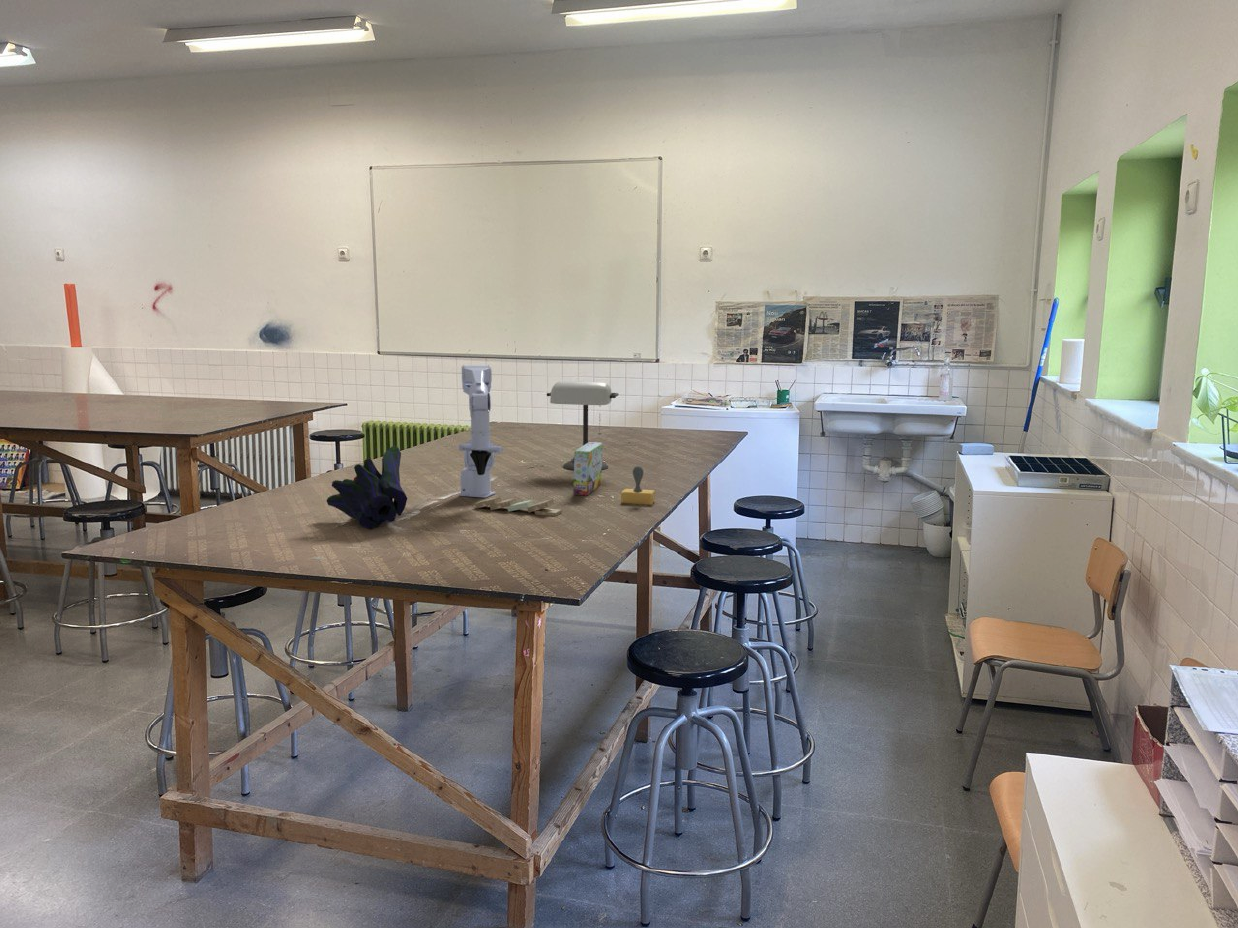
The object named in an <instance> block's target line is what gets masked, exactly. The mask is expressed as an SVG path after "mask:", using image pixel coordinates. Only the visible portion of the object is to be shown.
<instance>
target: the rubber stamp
mask: <svg viewBox="0 0 1238 928" xmlns="http://www.w3.org/2000/svg"><path fill="white" fill-rule="evenodd" d="M632 475H633V479H634V481H635V488H624V489H623V490H622V491H621V496H620V498H621V501H620V503H621V504H629V503H631V504H632V505H634V504H635V505H648V506H653V504H654V502H655V490H654V489H642V488H641V486H640V485H641V482H642V479H643V478H644V477H643V476H644V468H643V467H642V466H641V465H636V466H634V467H633V469H632Z"/></svg>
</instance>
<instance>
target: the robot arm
mask: <svg viewBox="0 0 1238 928" xmlns="http://www.w3.org/2000/svg"><path fill="white" fill-rule="evenodd" d="M492 378H493V377H492V366H491V365H490V364H488V365H465V364H463V365H462V366H461V385H462V387H461V388H462V390H463V391H462V392H463V393H464V394H466V395H468V404H469V405H468V407H469V413H470V415H469V416H470V437H471V438H470V440H468V441H467V442H466V443H461V444H458V451H459V452H460V451H461V452H462V451H463V464H464V465H463V466H464V467H463V469H462V470H461V472H460V478H459V479H460V494H459V496H461V497H471V498H483V499H484V498H488V497H491V496H492V495H495V494H496V493H497V492H496V491H492V490H491V488H492V487H491V484H492V483H491V481H492V480H491V479H492V478H491V469H492V468H494V467H495V454H498V455H500V454H503V453H504V447H503V446H501V445H498V446H497V445H493V442H491V441H490V439H491V437H490V436H491V434H490V433H491V430H490V429H491V428H490V427H491V426H490V412H491V409H492V400H491V393H490V392H491V389H492Z"/></svg>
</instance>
